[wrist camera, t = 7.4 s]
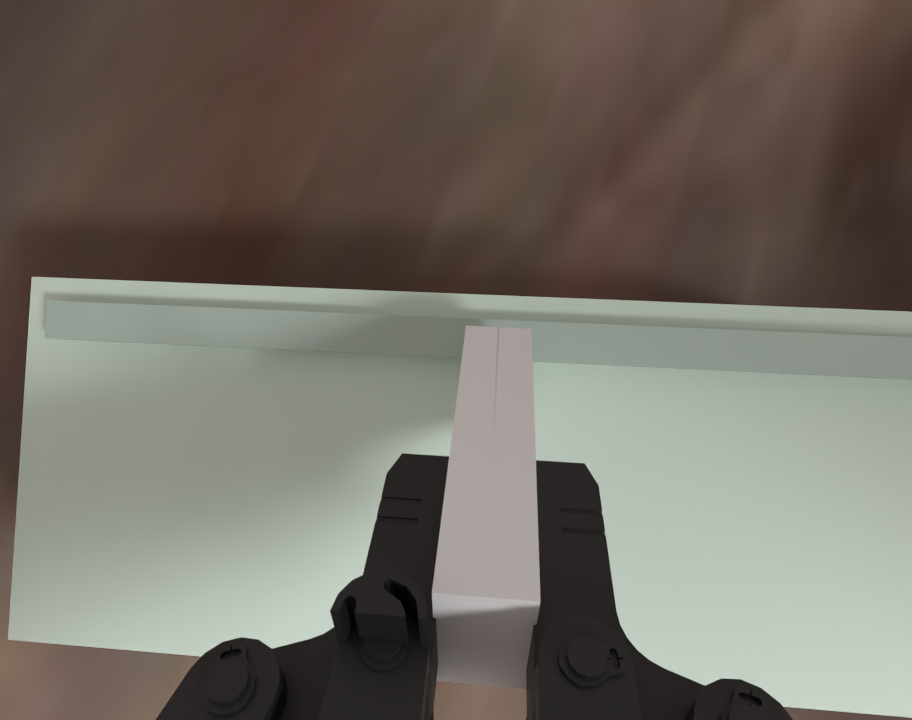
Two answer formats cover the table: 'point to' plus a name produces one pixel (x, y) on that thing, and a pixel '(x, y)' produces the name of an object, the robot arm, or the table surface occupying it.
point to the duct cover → (429, 433)
